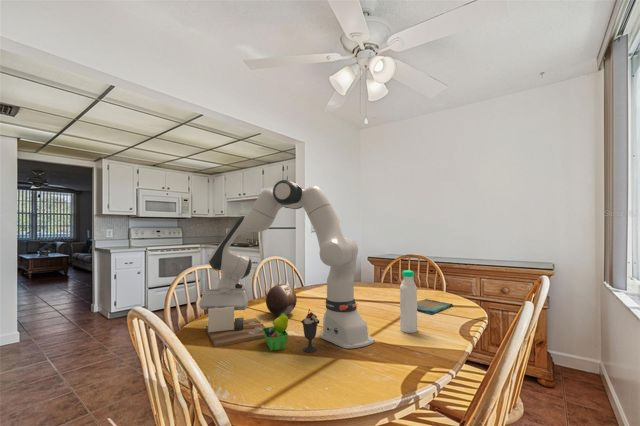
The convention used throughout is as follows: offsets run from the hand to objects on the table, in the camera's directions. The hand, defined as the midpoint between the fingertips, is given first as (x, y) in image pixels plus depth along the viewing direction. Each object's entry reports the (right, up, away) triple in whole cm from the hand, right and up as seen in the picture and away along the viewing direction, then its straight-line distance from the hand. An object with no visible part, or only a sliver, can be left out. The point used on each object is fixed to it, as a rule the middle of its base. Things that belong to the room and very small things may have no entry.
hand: (219, 318), depth 127 cm
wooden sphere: (+23, -7, +23) cm, 33 cm away
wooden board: (+8, -6, 0) cm, 10 cm away
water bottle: (+79, -6, +2) cm, 79 cm away
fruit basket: (+26, -6, -13) cm, 29 cm away
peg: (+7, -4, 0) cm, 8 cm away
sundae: (+38, -5, -17) cm, 42 cm away
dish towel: (+100, -7, +37) cm, 107 cm away
